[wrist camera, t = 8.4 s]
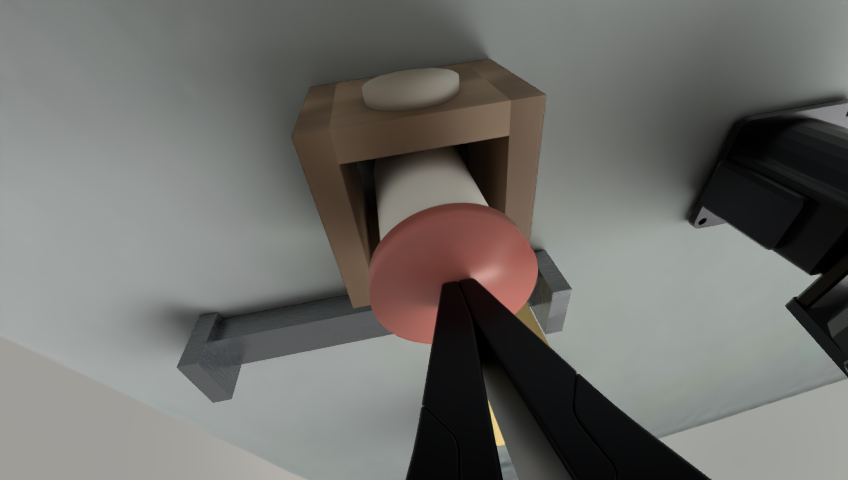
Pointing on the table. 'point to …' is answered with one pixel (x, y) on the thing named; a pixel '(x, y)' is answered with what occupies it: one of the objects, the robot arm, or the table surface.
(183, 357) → the rail
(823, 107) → the robot arm
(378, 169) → the plunger
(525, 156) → the brown wooden box
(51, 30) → the table surface
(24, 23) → the table surface
